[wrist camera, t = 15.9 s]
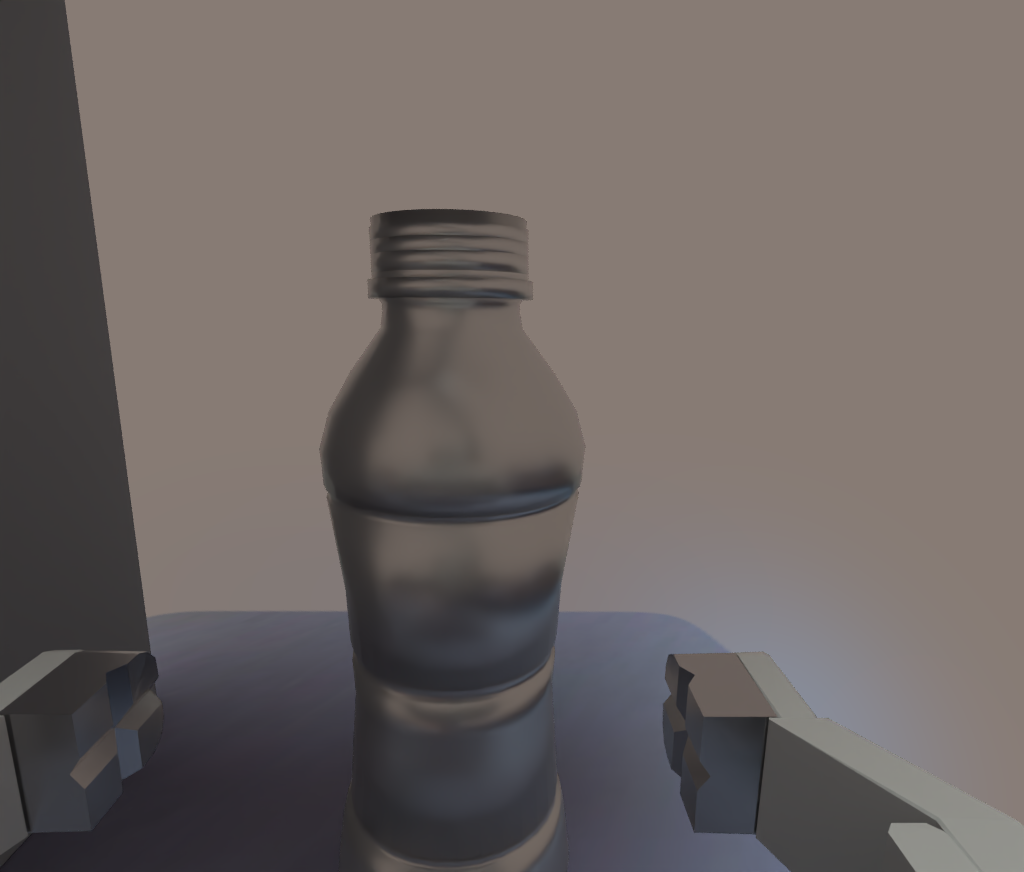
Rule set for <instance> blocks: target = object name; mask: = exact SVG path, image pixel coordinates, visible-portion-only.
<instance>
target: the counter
mask: <svg viewBox="0 0 1024 872" xmlns="http://www.w3.org/2000/svg"><path fill="white" fill-rule="evenodd" d="M52 650H84V651H85V650H104V651H145V652H149V653H150V654H151V651H150V643H149V635H148V628H147V620H146V613H145V605H144V598H143V590H142V582H141V576H140V568H139V560H138V552H137V545H136V537H135V530H134V523H133V515H132V507H131V500H130V492H129V485H128V477H127V469H126V461H125V454H124V448H123V440H122V431H121V424H120V416H119V409H118V401H117V394H116V386H115V379H114V372H113V363H112V356H111V348H110V341H109V333H108V326H107V318H106V310H105V303H104V295H103V288H102V280H101V273H100V265H99V257H98V250H97V242H96V235H95V228H94V219H93V212H92V204H91V197H90V189H89V182H88V174H87V167H86V159H85V152H84V144H83V136H82V129H81V121H80V113H79V107H78V98H77V91H76V83H75V76H74V68H73V61H72V53H71V45H70V38H69V31H68V23H67V15H66V8H65V0H0V683H1V682H2V681H4V680H5V679H6V678H8V677H9V676H11V675H12V674H13V673H15V672H16V671H18V670H19V669H20V668H22V667H23V666H25V665H26V664H27V663H29V662H30V661H31V660H33V659H34V658H36V657H37V656H38V655H40V654H41V653H43V652H46V651H52ZM151 690H152V691H153V693H154V694H155V695H156V688H155V683H154V685H153V686H152V688H151ZM31 834H32V833H28V836H27V837H26V838H24V839H23V840H21V841H20V842H19V843H17V844H16V845H14V846H13V847H11V848H10V849H8V850H7V851H5V852H4V853H3V854H1V855H0V867H1V866H2V865H3V864H4V863H5V862H6V861H7V860H8V859H9V858H10V856H11V855H12V854H13V853H14V852H15V851H16V850H17V849H18V848H19V847H20V846H21V844H22V843H23V842H24V841H25V840H26V839H27V838H28V837H29V836H30V835H31Z"/></svg>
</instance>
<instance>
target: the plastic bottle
mask: <svg viewBox="0 0 1024 872" xmlns="http://www.w3.org/2000/svg"><path fill="white" fill-rule="evenodd" d="M370 222H371V226H370V227H369V234H370V253H371V272H372V279H368V298H371V299H379V300H380V301H381V303H382V310H383V311H382V320H381V328H380V329H379V331H378V332H377V334H376V335H375V337H374V338H373V340H372V341H371V342H370V344H369V345H368V347H367V348H366V350H365V351H364V353H363V354H362V355H361V357H360V358H359V360H358V361H357V363H356V364H355V366H354V367H353V369H352V370H351V371H350V373H349V375H348V377H347V379H346V381H345V383H344V384H343V386H342V388H341V390H340V392H339V394H338V395H337V397H336V399H335V401H334V403H333V405H332V406H331V408H330V410H329V413H328V417H327V421H326V425H325V429H324V433H323V437H322V441H321V445H320V449H319V450H320V457H321V464H322V473H323V482H324V486H325V488H326V490H327V491H328V494H327V501H328V506H329V511H330V516H331V520H332V525H333V530H334V535H335V540H336V545H337V550H338V554H339V560H340V565H341V569H342V574H343V579H344V584H345V589H346V597H347V608H348V618H349V629H350V639H351V644H352V647H353V668H354V678H355V688H356V699H355V720H354V739H353V759H352V779H351V783H350V786H349V789H348V793H347V798H346V803H345V808H344V815H343V824H342V834H341V844H340V856H339V872H567V870H568V860H569V844H568V835H567V825H566V816H565V808H564V800H563V794H562V789H561V784H560V780H559V775H558V773H557V763H556V745H555V726H554V708H553V690H552V678H553V668H554V657H555V648H554V644H555V639H556V634H557V625H558V614H559V602H560V592H561V582H562V576H563V571H564V566H565V561H566V556H567V551H568V546H569V540H570V535H571V530H572V525H573V519H574V514H575V509H576V504H577V499H578V494H579V492H578V490H577V489H578V488H579V487H580V483H581V480H582V470H583V460H584V452H585V443H584V439H583V435H582V431H581V427H580V423H579V419H578V415H577V411H576V409H575V407H574V406H573V404H572V402H571V400H570V399H569V397H568V395H567V394H566V392H565V390H564V388H563V387H562V385H561V383H560V382H559V380H558V378H557V377H556V375H555V373H554V372H553V370H552V369H551V368H550V366H549V365H548V363H547V362H546V361H545V359H544V358H543V356H542V355H541V354H540V352H539V351H538V350H537V348H536V347H535V345H534V344H533V343H532V341H531V340H530V338H529V337H528V336H527V335H526V333H525V332H524V330H523V328H522V323H521V317H520V303H521V302H522V300H533V282H532V281H528V230H527V229H526V225H527V221H526V220H525V219H523V218H520V217H517V216H513V215H509V214H502V213H495V212H486V211H474V210H456V209H455V210H454V209H418V210H402V211H392V212H385V213H380V214H377V215H374V216H372V217H371V218H370Z"/></svg>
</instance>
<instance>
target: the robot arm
mask: <svg viewBox="0 0 1024 872" xmlns="http://www.w3.org/2000/svg"><path fill="white" fill-rule="evenodd" d="M158 677H159V675H158V670H157V664H156V659H155V657H154V656H152V655H151V654H150V653H149V652H145V651H104V650H85V651H84V650H52V651H46V652H43V653H41V654H40V655H38V656H37V657H36V658H34V659H33V660H31V661H30V662H29V663H27V664H26V665H25V666H23V667H22V668H20V669H19V670H18V671H16V672H15V673H13V674H12V675H11V676H9V677H8V678H6V679H5V680H4V681H2V682H1V683H0V855H1V854H3V853H4V852H5V851H7V850H8V849H10V848H11V847H13V846H14V845H16V844H17V843H19V842H20V841H21V840H23V839H24V838H26V837H27V836H28V833H40V832H75V831H92V830H93V829H94V827H95V826H96V825H97V824H98V822H99V821H100V820H101V819H102V817H103V816H104V815H105V814H106V813H107V811H108V810H109V809H110V808H111V806H112V805H113V804H114V803H115V801H116V800H117V799H118V798H119V797H120V795H121V794H122V793H123V785H122V780H123V779H125V778H126V777H128V776H130V775H132V774H133V773H135V772H137V771H138V770H140V769H142V768H143V767H144V765H145V764H146V763H147V761H148V760H149V759H150V757H151V756H152V755H153V754H154V752H155V749H156V747H157V744H158V742H159V739H160V737H161V734H162V728H163V719H164V714H163V706H162V702H161V700H160V699H159V698H158V697H157V696H156V695H155V694H154V693H153V691H152V690H151V688H152V686H153V685H154V683H155V682H156V680H157V679H158ZM665 680H666V682H667V685H668V687H669V689H670V692H671V695H670V696H669V698H668V699H667V700H666V701H665V702H664V704H663V734H664V744H665V748H666V753H667V757H668V760H669V763H670V766H671V769H672V770H673V771H674V772H675V773H677V774H678V775H679V776H680V777H681V788H680V795H681V797H682V800H683V803H684V806H685V808H686V811H687V814H688V817H689V820H690V822H691V825H692V828H693V831H694V833H725V834H755V835H756V838H757V839H758V840H759V841H760V842H761V843H762V844H763V845H764V846H765V847H766V848H767V849H768V850H769V851H770V852H771V853H772V854H773V855H774V856H775V857H776V858H777V859H778V860H779V861H780V862H781V863H783V864H784V865H785V866H786V867H787V868H788V869H789V870H790V871H791V872H1024V826H1023V825H1022V824H1021V823H1020V822H1018V821H1017V820H1015V819H1013V818H1012V817H1010V816H1008V815H1006V814H1004V813H1002V812H1000V811H999V810H997V809H995V808H993V807H991V806H989V805H988V804H986V803H984V802H982V801H980V800H978V799H977V798H975V797H973V796H971V795H969V794H967V793H965V792H964V791H962V790H960V789H958V788H956V787H954V786H952V785H951V784H949V783H947V782H945V781H943V780H941V779H940V778H938V777H936V776H934V775H932V774H930V773H928V772H927V771H925V770H923V769H921V768H919V767H917V766H915V765H913V764H912V763H910V762H908V761H906V760H904V759H903V758H901V757H899V756H897V755H895V754H893V753H891V752H889V751H888V750H886V749H884V748H882V747H880V746H879V745H877V744H875V743H873V742H871V741H869V740H867V739H866V738H863V737H862V736H860V735H858V734H856V733H854V732H853V731H851V730H849V729H847V728H845V727H843V726H842V725H840V724H838V723H836V722H834V721H832V720H830V719H829V718H817V717H816V715H815V714H814V713H813V712H812V710H811V709H810V708H809V706H808V705H807V704H806V703H805V701H804V700H803V698H802V697H801V696H800V695H799V693H798V692H797V691H796V690H795V688H794V687H793V685H792V684H791V683H790V682H789V680H788V679H787V678H786V676H785V675H784V674H783V672H782V671H781V670H780V668H779V667H778V666H777V665H776V663H775V662H774V661H773V659H772V658H771V657H770V655H768V654H766V653H764V652H743V653H709V654H670V655H668V659H667V663H666V672H665Z"/></svg>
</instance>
